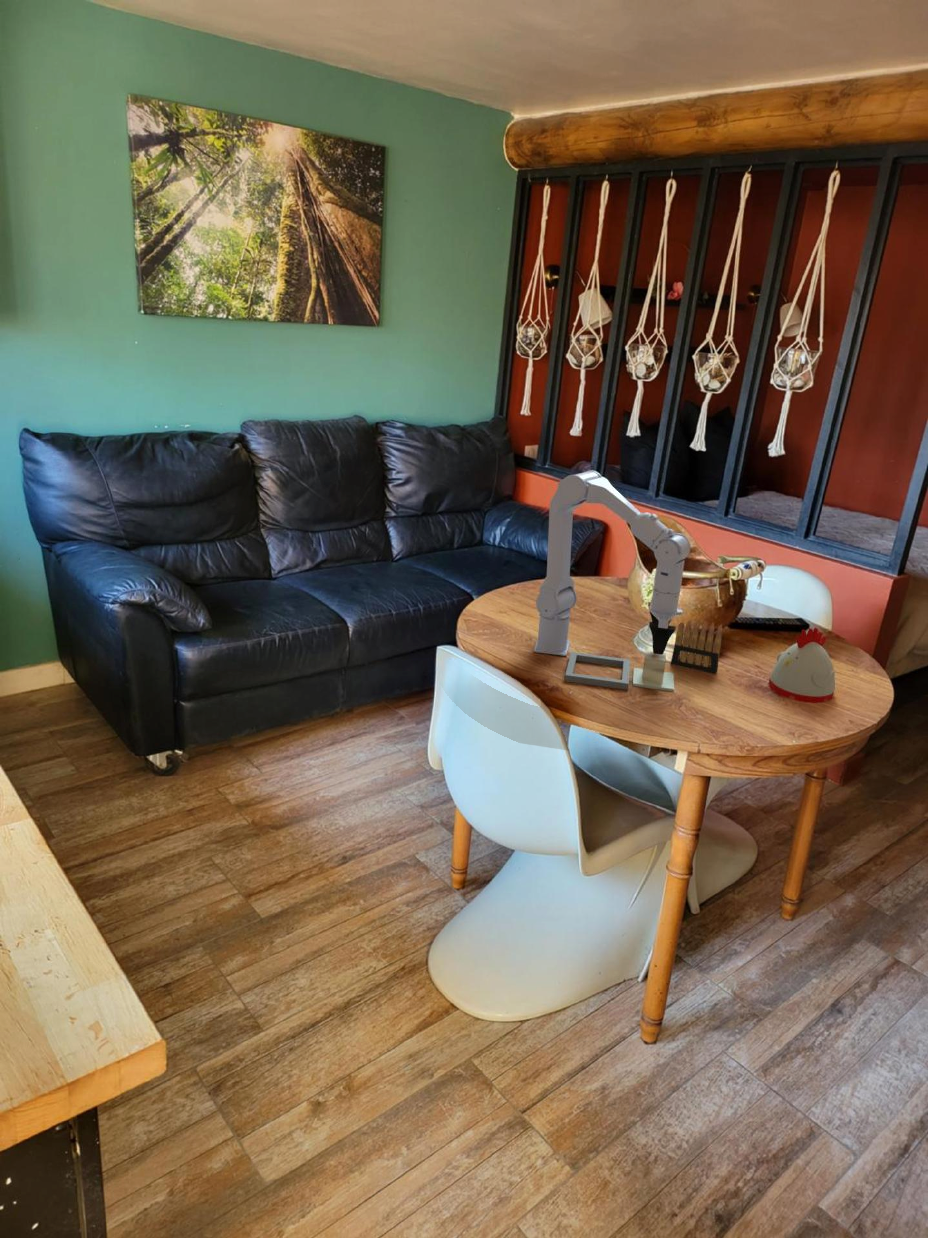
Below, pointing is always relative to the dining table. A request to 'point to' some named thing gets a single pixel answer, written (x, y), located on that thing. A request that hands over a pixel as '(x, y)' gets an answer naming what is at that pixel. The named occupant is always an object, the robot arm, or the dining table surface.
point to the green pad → (666, 685)
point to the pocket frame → (593, 679)
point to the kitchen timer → (804, 670)
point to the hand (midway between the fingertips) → (657, 647)
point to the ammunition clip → (697, 648)
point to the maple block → (654, 667)
